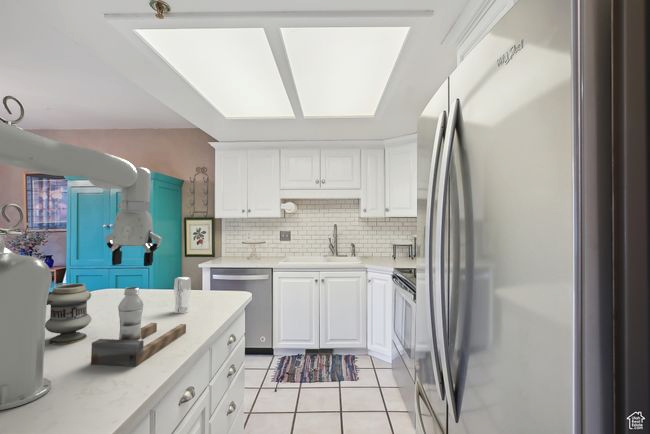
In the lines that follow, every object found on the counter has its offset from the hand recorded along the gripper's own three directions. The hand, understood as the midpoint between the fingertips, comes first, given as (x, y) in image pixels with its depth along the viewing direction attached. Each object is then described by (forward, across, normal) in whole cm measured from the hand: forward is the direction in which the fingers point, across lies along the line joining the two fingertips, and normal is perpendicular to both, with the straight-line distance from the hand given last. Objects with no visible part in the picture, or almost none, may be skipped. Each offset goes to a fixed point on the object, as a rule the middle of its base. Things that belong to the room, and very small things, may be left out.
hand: (132, 265), depth 95 cm
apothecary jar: (+27, -28, +11) cm, 41 cm away
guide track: (+27, 0, +8) cm, 28 cm away
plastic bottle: (+27, 0, 0) cm, 27 cm away
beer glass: (+27, -8, +48) cm, 55 cm away
